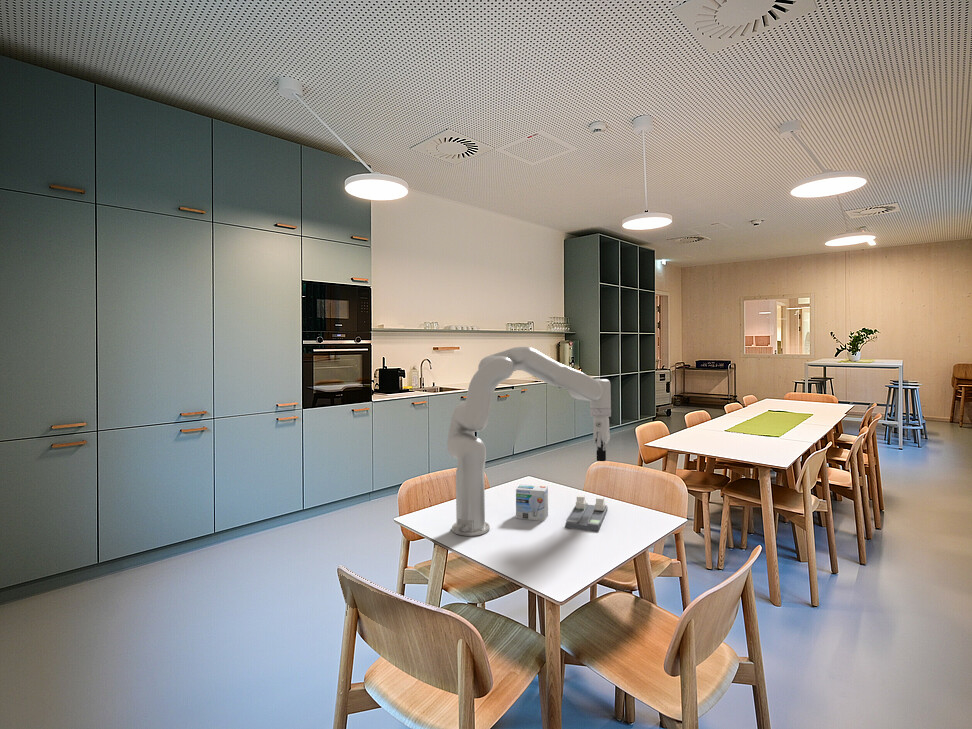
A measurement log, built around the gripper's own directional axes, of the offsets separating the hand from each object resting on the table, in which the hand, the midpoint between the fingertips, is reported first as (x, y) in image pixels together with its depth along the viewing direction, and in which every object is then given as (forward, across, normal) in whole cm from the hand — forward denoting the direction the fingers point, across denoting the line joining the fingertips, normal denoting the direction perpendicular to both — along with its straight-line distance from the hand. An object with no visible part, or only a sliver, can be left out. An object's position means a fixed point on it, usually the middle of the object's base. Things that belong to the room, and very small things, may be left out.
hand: (601, 460), depth 188 cm
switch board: (+18, -14, +3) cm, 23 cm away
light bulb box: (+18, -18, +22) cm, 34 cm away
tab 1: (+16, -7, +7) cm, 19 cm away
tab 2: (+16, -7, 0) cm, 18 cm away
